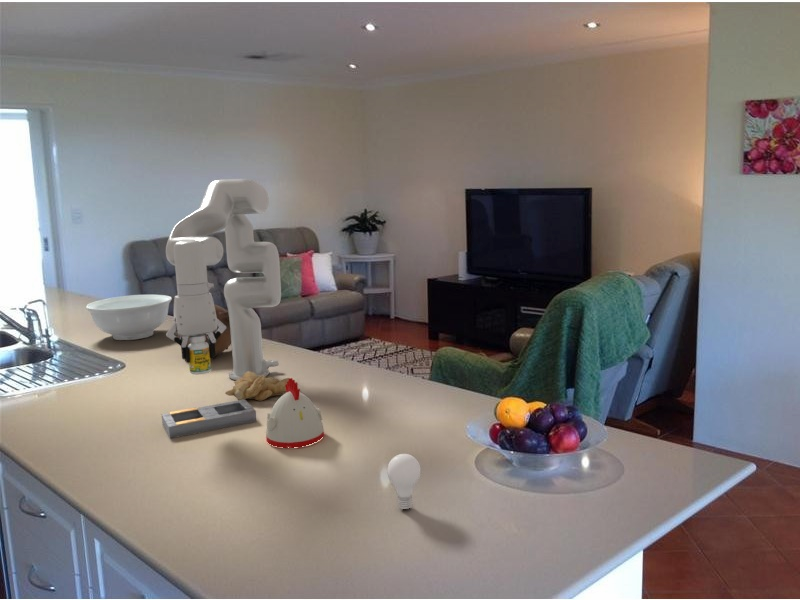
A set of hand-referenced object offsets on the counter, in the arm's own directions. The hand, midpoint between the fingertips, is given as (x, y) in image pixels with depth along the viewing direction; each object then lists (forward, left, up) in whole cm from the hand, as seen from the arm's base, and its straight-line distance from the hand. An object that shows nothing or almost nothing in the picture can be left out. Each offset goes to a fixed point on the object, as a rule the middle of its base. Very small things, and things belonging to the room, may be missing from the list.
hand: (199, 358), depth 186 cm
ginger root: (-18, -15, -18) cm, 30 cm away
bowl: (+3, -121, -18) cm, 122 cm away
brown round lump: (-21, -73, -18) cm, 78 cm away
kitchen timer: (-17, +22, -18) cm, 33 cm away
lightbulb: (-23, +69, -18) cm, 75 cm away
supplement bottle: (0, 0, -4) cm, 4 cm away
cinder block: (-1, 0, -18) cm, 18 cm away
